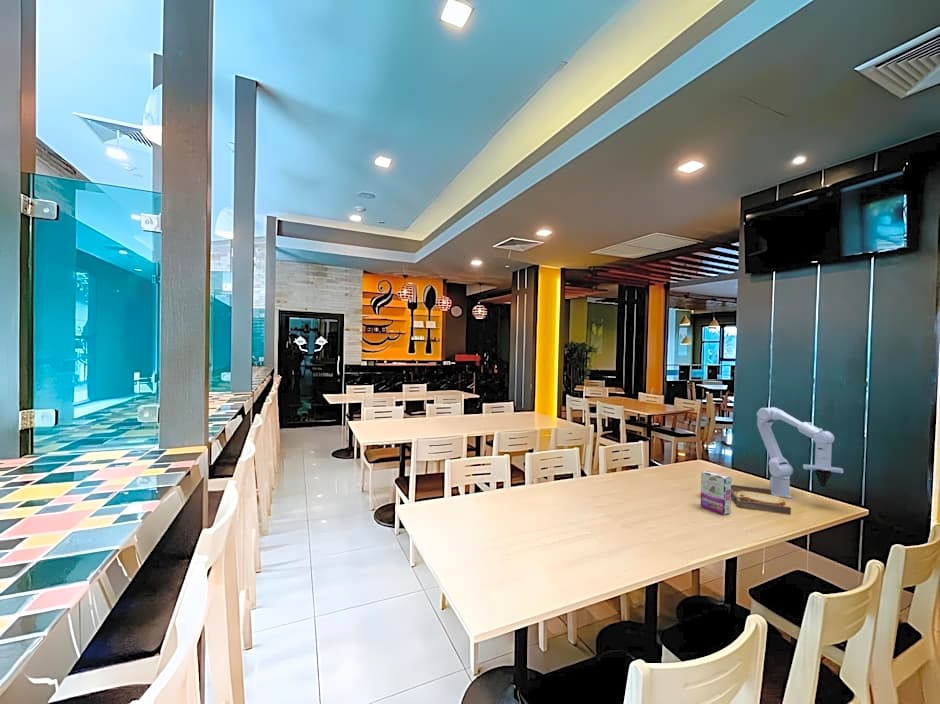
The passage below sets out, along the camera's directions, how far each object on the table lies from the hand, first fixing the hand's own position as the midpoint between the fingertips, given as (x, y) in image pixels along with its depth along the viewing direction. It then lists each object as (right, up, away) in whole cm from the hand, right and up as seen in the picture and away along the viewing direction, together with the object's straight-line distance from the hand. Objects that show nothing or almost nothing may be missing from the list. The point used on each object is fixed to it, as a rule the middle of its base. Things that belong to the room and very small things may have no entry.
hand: (822, 486), depth 193 cm
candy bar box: (-54, -9, -6) cm, 55 cm away
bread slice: (-25, -10, +7) cm, 28 cm away
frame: (-27, -9, +6) cm, 29 cm away
